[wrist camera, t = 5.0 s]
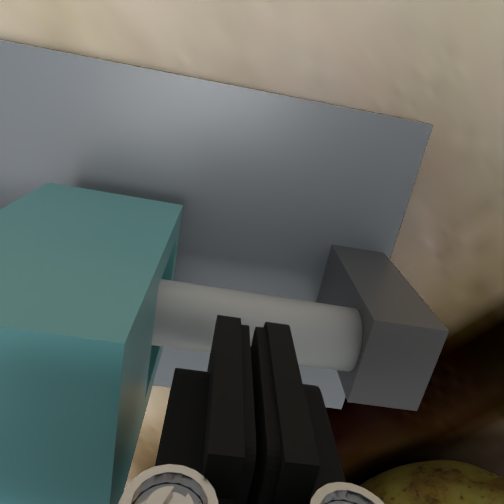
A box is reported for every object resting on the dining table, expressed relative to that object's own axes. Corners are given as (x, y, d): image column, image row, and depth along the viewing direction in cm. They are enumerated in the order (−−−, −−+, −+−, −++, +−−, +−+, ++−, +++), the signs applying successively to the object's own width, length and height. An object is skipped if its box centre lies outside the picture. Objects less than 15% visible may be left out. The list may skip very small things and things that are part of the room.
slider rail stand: (419, 121, 16) (557, 155, 9) (335, 390, 20) (385, 550, 13) (-253, -11, 14) (-738, -97, 7) (-185, 322, 18) (-442, 471, 11)
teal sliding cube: (182, 205, 13) (124, 343, 6) (165, 337, 15) (104, 560, 8) (48, 182, 13) (-169, 303, 6) (46, 321, 15) (-125, 540, 8)
